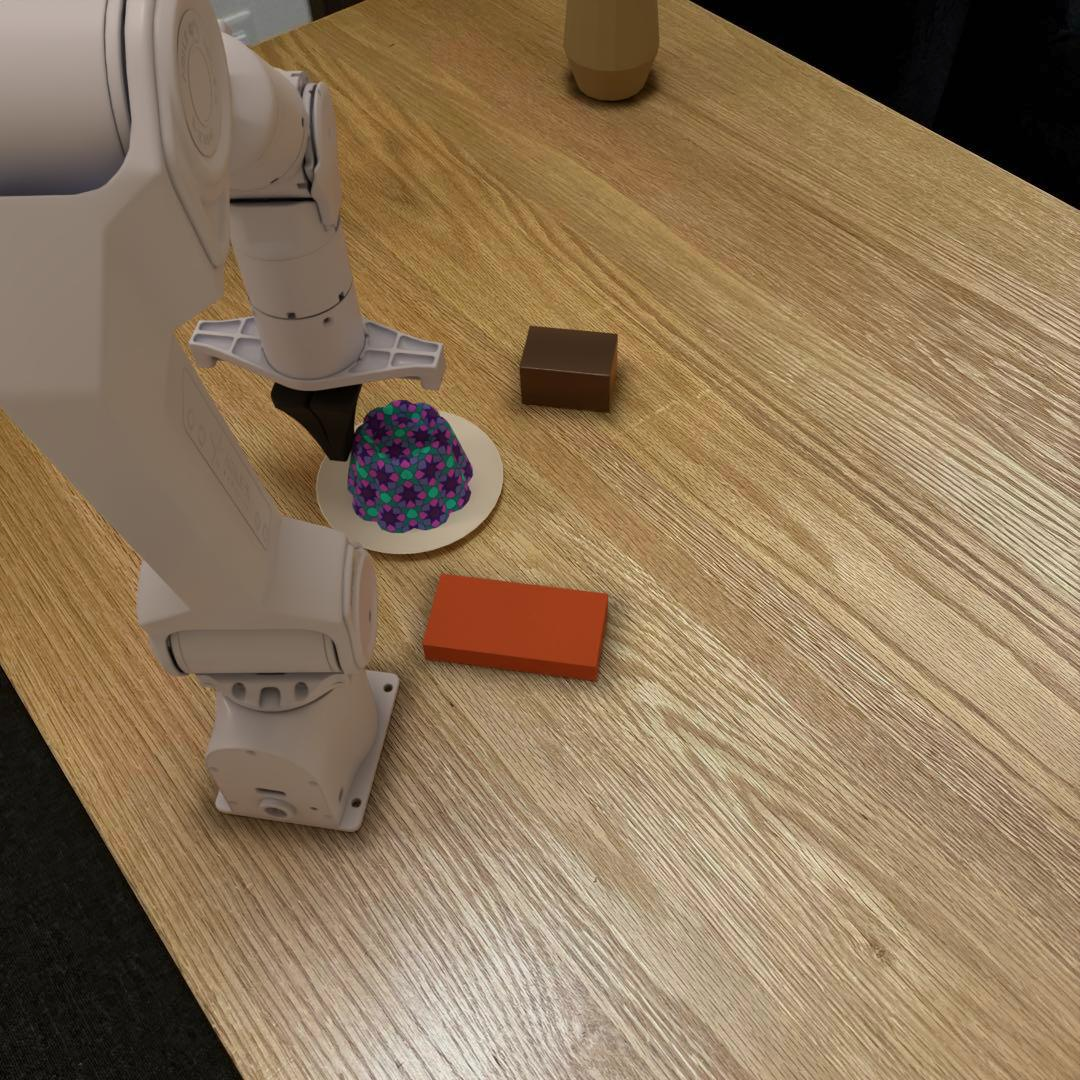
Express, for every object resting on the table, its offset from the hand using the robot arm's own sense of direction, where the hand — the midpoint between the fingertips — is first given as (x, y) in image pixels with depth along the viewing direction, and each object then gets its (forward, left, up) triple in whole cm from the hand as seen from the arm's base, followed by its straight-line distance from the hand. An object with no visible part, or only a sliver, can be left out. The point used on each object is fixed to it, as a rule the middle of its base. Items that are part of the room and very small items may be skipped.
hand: (342, 449), depth 75 cm
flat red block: (-10, -13, -3) cm, 17 cm away
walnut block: (+10, -13, -3) cm, 17 cm away
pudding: (0, -4, -3) cm, 5 cm away
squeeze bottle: (+46, -11, -3) cm, 47 cm away
